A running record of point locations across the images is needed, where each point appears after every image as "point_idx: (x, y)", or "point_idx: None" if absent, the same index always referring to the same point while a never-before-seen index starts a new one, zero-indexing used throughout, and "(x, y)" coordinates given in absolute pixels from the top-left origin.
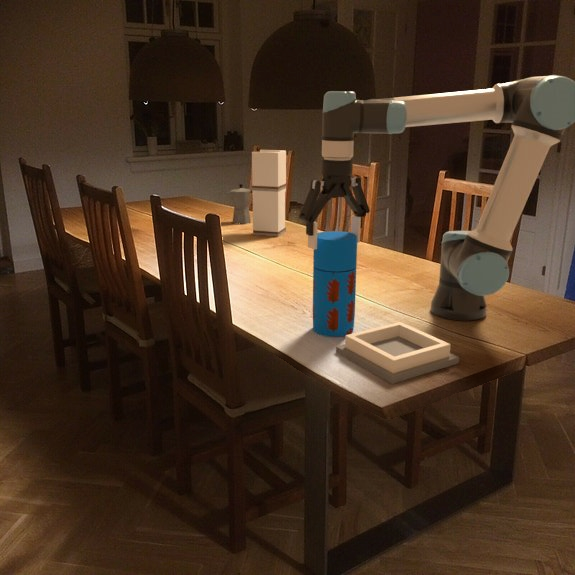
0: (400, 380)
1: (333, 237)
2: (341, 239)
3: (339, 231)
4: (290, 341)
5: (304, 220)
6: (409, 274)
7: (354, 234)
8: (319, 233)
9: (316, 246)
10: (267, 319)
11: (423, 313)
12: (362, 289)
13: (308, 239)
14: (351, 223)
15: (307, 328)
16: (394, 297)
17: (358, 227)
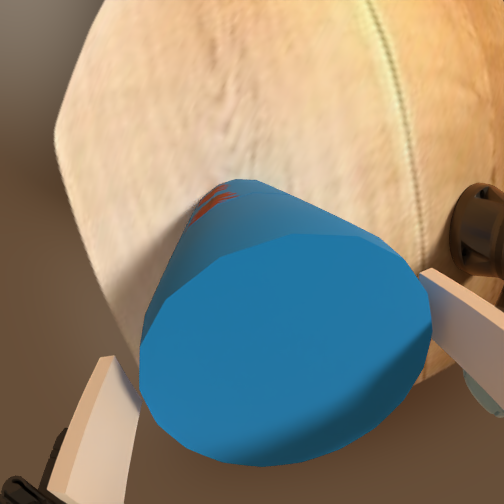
0: None
1: (258, 424)
2: (277, 457)
3: (404, 272)
4: (128, 259)
5: (16, 477)
6: (489, 38)
7: (416, 374)
8: (206, 293)
9: (137, 411)
10: (120, 115)
11: (441, 210)
12: (408, 33)
13: (87, 392)
14: (492, 323)
15: (186, 199)
16: (442, 107)
17: (468, 372)
